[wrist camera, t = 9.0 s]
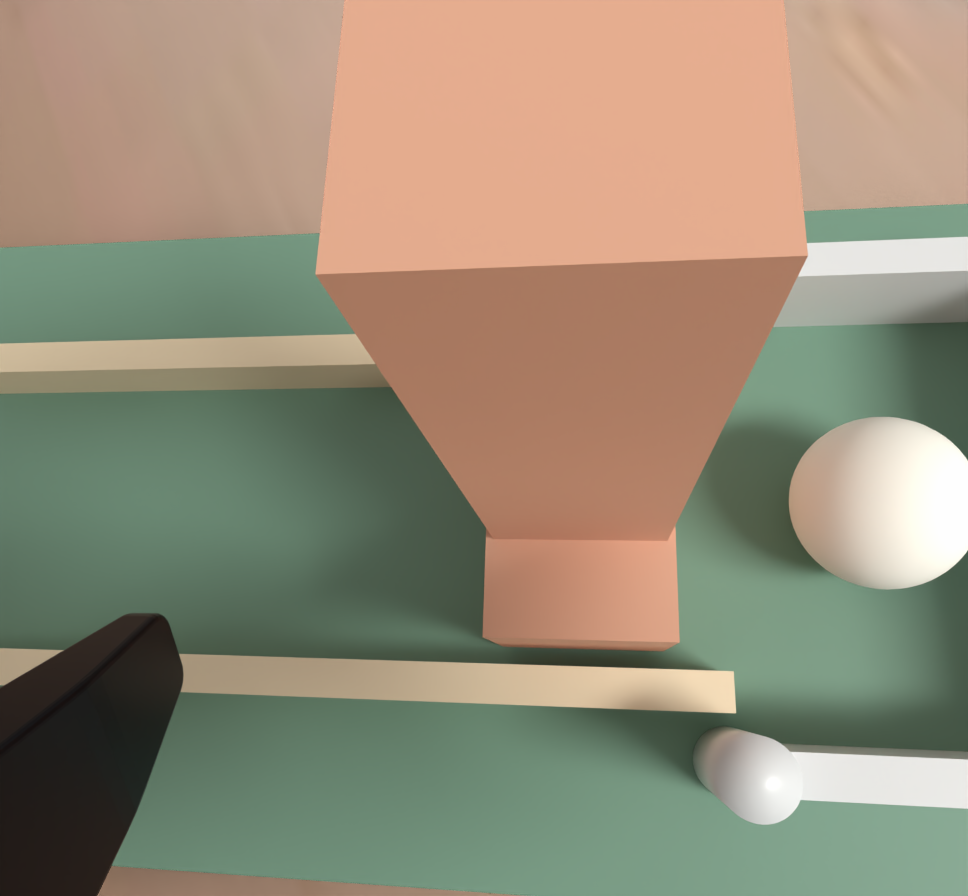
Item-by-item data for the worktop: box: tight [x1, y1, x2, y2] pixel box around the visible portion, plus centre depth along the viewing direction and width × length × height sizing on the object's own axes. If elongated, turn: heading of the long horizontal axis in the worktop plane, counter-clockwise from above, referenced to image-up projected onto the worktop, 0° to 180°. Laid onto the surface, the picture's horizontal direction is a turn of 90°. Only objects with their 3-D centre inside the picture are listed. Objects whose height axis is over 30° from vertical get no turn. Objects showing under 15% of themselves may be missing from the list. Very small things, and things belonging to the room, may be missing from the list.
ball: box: [789, 417, 968, 590], centre depth 16 cm, size 4×4×4 cm
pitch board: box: [0, 204, 968, 896], centre depth 19 cm, size 16×30×2 cm, turn 88°
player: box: [315, 0, 808, 651], centre depth 12 cm, size 6×4×14 cm, turn 178°
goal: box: [693, 237, 968, 825], centre depth 16 cm, size 12×8×4 cm
